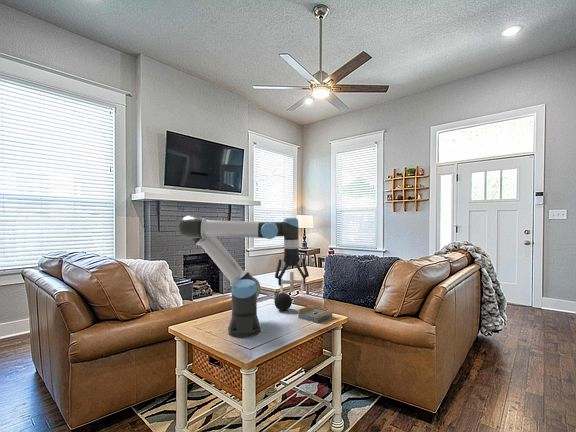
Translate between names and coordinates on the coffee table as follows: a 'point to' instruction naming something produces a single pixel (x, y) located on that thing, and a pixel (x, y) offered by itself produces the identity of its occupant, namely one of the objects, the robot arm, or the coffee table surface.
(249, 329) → the robot arm
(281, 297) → the speaker
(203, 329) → the coffee table surface
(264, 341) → the coffee table surface
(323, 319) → the block
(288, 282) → the pipe connector
